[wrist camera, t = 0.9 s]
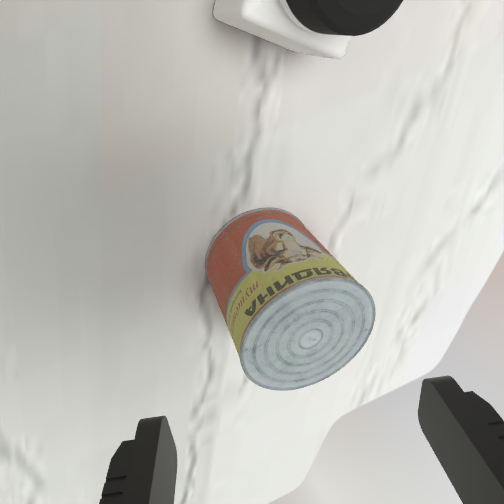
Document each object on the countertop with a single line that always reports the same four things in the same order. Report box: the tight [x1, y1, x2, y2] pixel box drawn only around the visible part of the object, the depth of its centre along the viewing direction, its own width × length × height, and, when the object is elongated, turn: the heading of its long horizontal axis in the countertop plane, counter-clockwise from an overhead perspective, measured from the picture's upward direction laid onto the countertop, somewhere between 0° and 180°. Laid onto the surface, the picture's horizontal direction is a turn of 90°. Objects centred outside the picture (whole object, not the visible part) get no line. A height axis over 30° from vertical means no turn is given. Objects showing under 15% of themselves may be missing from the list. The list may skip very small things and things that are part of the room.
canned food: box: [205, 208, 375, 390], centre depth 33 cm, size 11×11×12 cm
